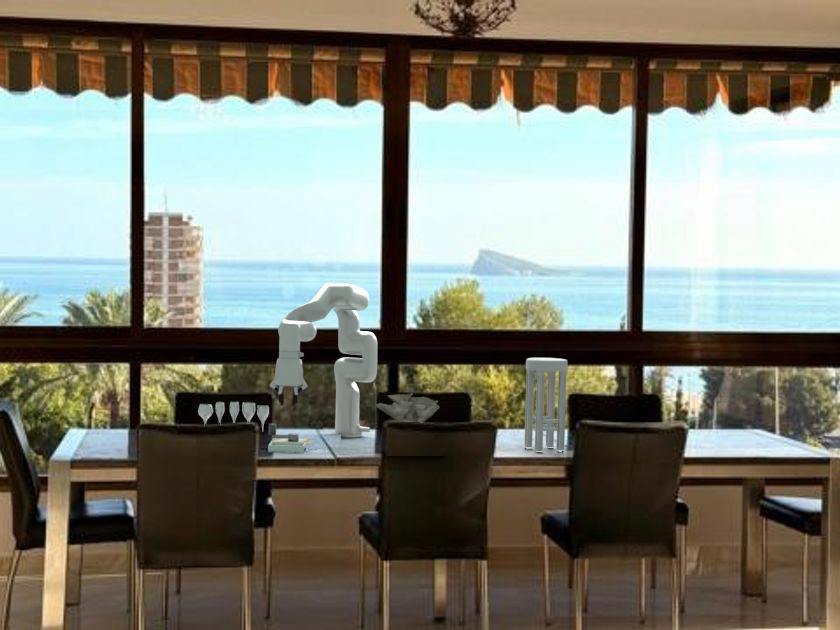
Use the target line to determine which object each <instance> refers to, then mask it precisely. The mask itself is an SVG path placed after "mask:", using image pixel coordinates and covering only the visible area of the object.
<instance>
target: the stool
mask: <svg viewBox="0 0 840 630" xmlns="http://www.w3.org/2000/svg"><path fill="white" fill-rule="evenodd" d="M525 370H526V379H525V380H526V381H525V385H526V387H525V413H524V414H525V415H524V446H525V447H532V448H533V434H534V433H533V431H534V429H535V431H534V432H535V434H534V452H535V451H544V449H543V448H544V447H543V446H544V432H545V447H546V446H547V447H553V448H554V444H555V441H554V440H555V439H554V437H555V432H556V447H555V448H556V449H557V450H564V451H565V441H566V438H565V436H566V434H565V433H566V408H567V407H566V405H567V403H566V401H567V374H568V372H567V371H568V359H565V358H556V357H528V358H526V360H525ZM535 371H536V390H535ZM546 372H547V391H546V392H547V394H546V395H547V396H546V416H545V415H544V413H545V412H544V411H545V410H544V409H545V383H546V382H545V381H546ZM557 372H558V386H557V387H558V388H557V416H556V417H557V418H556V419H555V409H556V408H555V407H556V377H557V376H556V373H557ZM535 391H536V393H535ZM534 394H536V396H534ZM534 397H536V398H535V399H536V400H535V416H534ZM534 421H535V424H534ZM555 424H556V427H555Z"/></svg>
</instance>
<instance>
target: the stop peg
mask: <svg viewBox="0 0 840 630" xmlns="http://www.w3.org/2000/svg"><path fill="white" fill-rule="evenodd" d="M294 393H295V392H294V387H291V386H284V387H283V405H282V407H283V408H294V407H295V406H294V405H293V395H294Z"/></svg>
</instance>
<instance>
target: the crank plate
mask: <svg viewBox="0 0 840 630" xmlns="http://www.w3.org/2000/svg"><path fill="white" fill-rule="evenodd" d="M271 441H276V442H288V439H284V438H272V440H271ZM271 441H270V442H269V444H270V443H271ZM312 441H313V438H299V442H306V446H309V445H310V444H311V442H312ZM269 444H268V445H269Z"/></svg>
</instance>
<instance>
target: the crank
mask: <svg viewBox="0 0 840 630" xmlns="http://www.w3.org/2000/svg"><path fill="white" fill-rule="evenodd" d="M268 435H269V436H271V439H273V438H284V439H288V442H299V439H300V437H299V436H300V435H299V433H296V432H295V433H288V434H277V423H268Z"/></svg>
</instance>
